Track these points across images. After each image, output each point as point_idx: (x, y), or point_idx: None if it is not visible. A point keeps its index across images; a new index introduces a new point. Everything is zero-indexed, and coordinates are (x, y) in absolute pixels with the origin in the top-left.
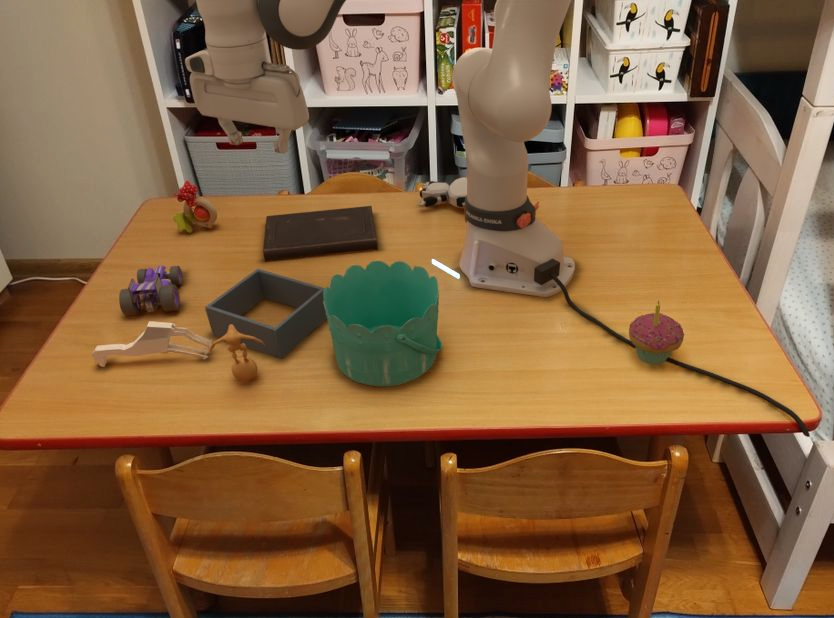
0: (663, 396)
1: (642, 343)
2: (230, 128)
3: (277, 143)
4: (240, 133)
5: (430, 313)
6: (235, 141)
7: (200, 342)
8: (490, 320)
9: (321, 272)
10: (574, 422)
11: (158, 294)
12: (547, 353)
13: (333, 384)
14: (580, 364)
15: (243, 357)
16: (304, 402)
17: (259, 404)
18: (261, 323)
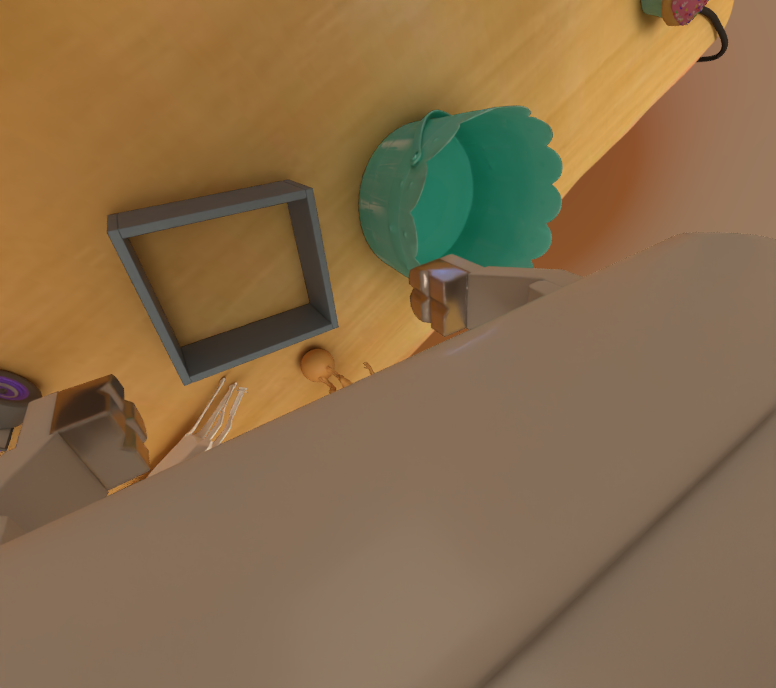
0: (649, 70)
1: (677, 22)
2: (57, 505)
3: (466, 327)
4: (113, 414)
5: (549, 202)
6: (144, 440)
7: (238, 401)
8: (497, 19)
9: (107, 27)
10: (591, 164)
11: (7, 431)
12: (566, 61)
13: (399, 287)
14: (594, 62)
15: (322, 370)
16: (392, 327)
17: (357, 364)
18: (308, 334)
